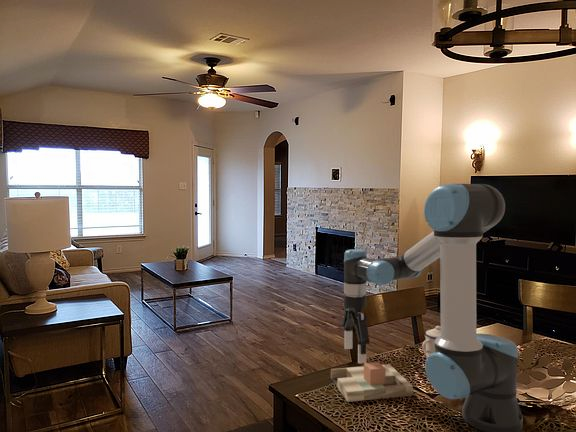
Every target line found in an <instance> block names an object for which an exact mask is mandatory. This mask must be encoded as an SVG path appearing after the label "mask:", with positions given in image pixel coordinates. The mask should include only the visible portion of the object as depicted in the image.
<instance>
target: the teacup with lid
mask: <svg viewBox="0 0 576 432" xmlns="http://www.w3.org/2000/svg"><path fill="white" fill-rule="evenodd" d="M440 334H441V325H436V326H435V327H434V328H432V329H428V330H426V331H425V340H424V341H422V345H421V348H422V351H423V353H425V357H426V358H428V357H429V355H431V354H432V353H435V339H436V338H437V337H439V336H440Z"/></svg>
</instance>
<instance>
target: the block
mask: <svg viewBox="0 0 576 432" xmlns="http://www.w3.org/2000/svg"><path fill="white" fill-rule="evenodd" d="M383 365H384V364H382V363H381V362H379V361H373V362H367V363H363V366H364V379H365V380H366V382H367V383H368V384H369V385H379V384H385V367H384V366H383Z"/></svg>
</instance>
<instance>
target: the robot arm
mask: <svg viewBox="0 0 576 432" xmlns="http://www.w3.org/2000/svg"><path fill="white" fill-rule="evenodd" d="M505 210H506V203H505V199H504V197H503V195H502V193H501V192H500V191H499V190H498V189H497V188H495V187H494V186H491V185H489V184H485V183H456V182H454V183H448V184H442V185H438V186H437V187H435V188H434V189H433V190H432V191H431V192H430V193H429V194H428V196H427V197H426V200H425V203H424V207H423V215H424V220H425V222H426V223H427V225H428V227H429V228H431V229H432V230H433V231H432V232H430V233H429V234H427V235H426V236H425V237H423V238H422V239H421V240H420V241H418V242H417V243H416V244H415V245H413V246H412V247H410V248H409V249H408V250H407V251H405V252H403V253H402V254H401V255H399V256H395V257H386V258H369V257H367V256H368V255H367V251H366V250H365V249H357V248H355V249H352V248H351V249H347V250H345V252H344V255H343V256H344V257H343V258H344V259H343V276H344V279H343V293H344V296H343V297H344V298H343V305H344V314H343V319H342V325H341V326H342V328H343V330H344V350H351V349H352V350H353V331H354V330H353V329H354V327H355V331H356V334H357V339H358V342H357V344H356V345H357V364H364V363H368V362H367V360H368V359H367V355H368V354H367V348H368V347H367V345H369V344H370V336H369V329H368V324H367V315H366V312H363V311H362V310H363V308H366V306H367V296H366V294H367V288H368V284H367V282H368V283H372V284H373V285H374V284H375V285H382V286H384V285H385V286H386V285H388V284H389V283H391V282H393V281H398V280H399V281H400V280H411V279H414V278H417V277H419V276H421V275H422V272H423V270H424V268H427V267H428V266H429V265H430V264H432V263H434V262H435V261H437V260H438V259H439V267H440V268H439V269H440V271H439V275H440V276H439V277H440V280H439V281H440V285H439V286H440V289H439V290H440V292H439V293H440V294H439V295H440V296H439V297H440V300H439V301H440V327H441V334H440V336H439V337H437V338H436V339H435V353H432V354H431V355H429V357H426V359H425V362H424V369H425V375H426V377H427V380H428V381H429V383H430V384H431V386H432V387H433V389H434V390H435V392H437V393H438V394H439V395H440V396H442V397H444V398H445V399H448V400H457V399H464V402H463V403H462V407H461V416H462V419H463V420H464V421H465V423H467V424H468V425H470V427H473V428H475V429H476V430H480V431H481V432H521V431H522V430H523V427H524V419H523V414H522V411H521V408H520V404H519V401H518V399H517V389H518V387H517V385H518V365H519V363H518V361H519V355H518V354H519V351H518V350H519V348H518V346H517V345H516V343H515V342H514V341H513V340H510V339H508V338H505V337H502V336H499V335H498V336H497V335H493V334H488V333H477V244H478V242H480V240H482V239H483V234H484V233H486V232H487V231H489V230H490V229H491V228H494V226H496V225H497V224H498V223H499V222H501V220H502V218H503V217H504V214H505V212H506V211H505ZM353 326H354V327H353Z"/></svg>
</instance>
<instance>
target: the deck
mask: <svg viewBox="0 0 576 432" xmlns="http://www.w3.org/2000/svg"><path fill="white" fill-rule="evenodd" d="M382 365H383V366H384V367H385V384H379V385H369V384H368V383H367V382H366V380H365V379H364V365H361V366H351V367H340V368H339V367H338V368H330V379H331V380H332V381H333V383H334V385H335V386H336V387H337V389H338V390H339V392H340V393H341V395H342V396H343V397H344V399H345V400H346V402H347V403H349V402H359V401H370V400H378V399H379V400H380V399H381V398H382V399H389V398H390V397H391V398H401V397H410V396H411V397H412V396H413V395H414V388H413V387H414V386H413V385H412V383H410V382H409V381H408V380H407V379H406V378H405V377H404V376H402V374H401V373H399V372H398V371H397V370H396V369H395V368H394V367H393V366H392V365H391V364H390V363H389V364H382Z"/></svg>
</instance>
